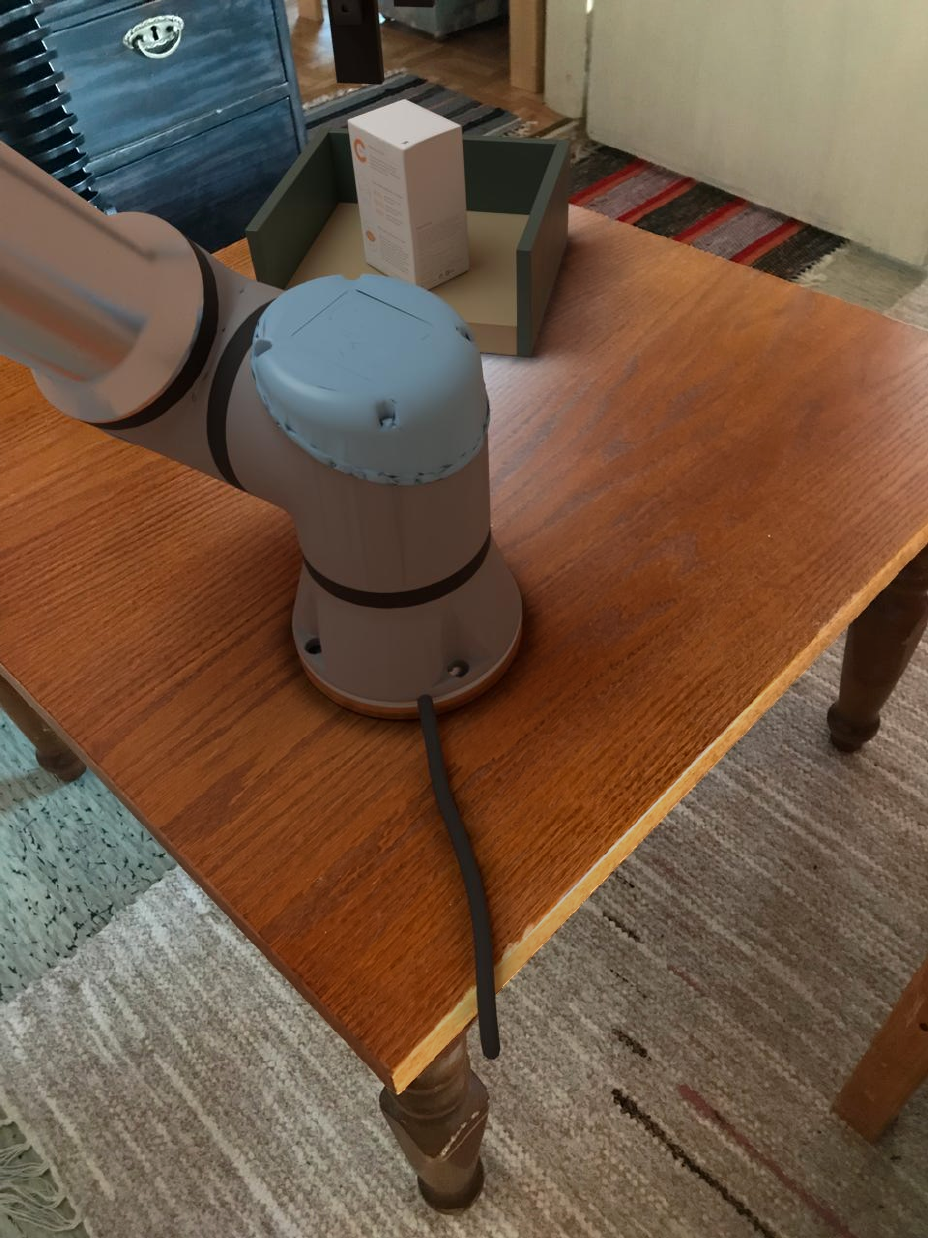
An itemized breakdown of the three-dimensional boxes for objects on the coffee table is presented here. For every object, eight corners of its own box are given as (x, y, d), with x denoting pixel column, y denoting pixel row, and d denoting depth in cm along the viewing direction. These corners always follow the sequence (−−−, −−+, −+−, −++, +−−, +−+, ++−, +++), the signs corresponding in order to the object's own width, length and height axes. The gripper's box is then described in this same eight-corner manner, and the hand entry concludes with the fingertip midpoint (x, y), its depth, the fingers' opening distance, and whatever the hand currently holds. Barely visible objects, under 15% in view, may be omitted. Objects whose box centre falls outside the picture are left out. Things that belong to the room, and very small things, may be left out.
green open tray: (530, 357, 86) (530, 250, 79) (268, 332, 91) (244, 229, 83) (567, 241, 99) (570, 139, 91) (335, 224, 103) (320, 126, 96)
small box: (471, 270, 90) (464, 124, 80) (416, 297, 88) (402, 149, 78) (417, 238, 94) (404, 95, 85) (364, 263, 92) (344, 118, 82)
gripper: (352, -456, 38) (399, 123, 53) (477, -467, 54) (484, -20, 70) (169, -447, 39) (268, 117, 55) (345, -460, 55) (382, -23, 71)
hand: (389, 41), depth 62 cm, fingers open, 13 cm apart
